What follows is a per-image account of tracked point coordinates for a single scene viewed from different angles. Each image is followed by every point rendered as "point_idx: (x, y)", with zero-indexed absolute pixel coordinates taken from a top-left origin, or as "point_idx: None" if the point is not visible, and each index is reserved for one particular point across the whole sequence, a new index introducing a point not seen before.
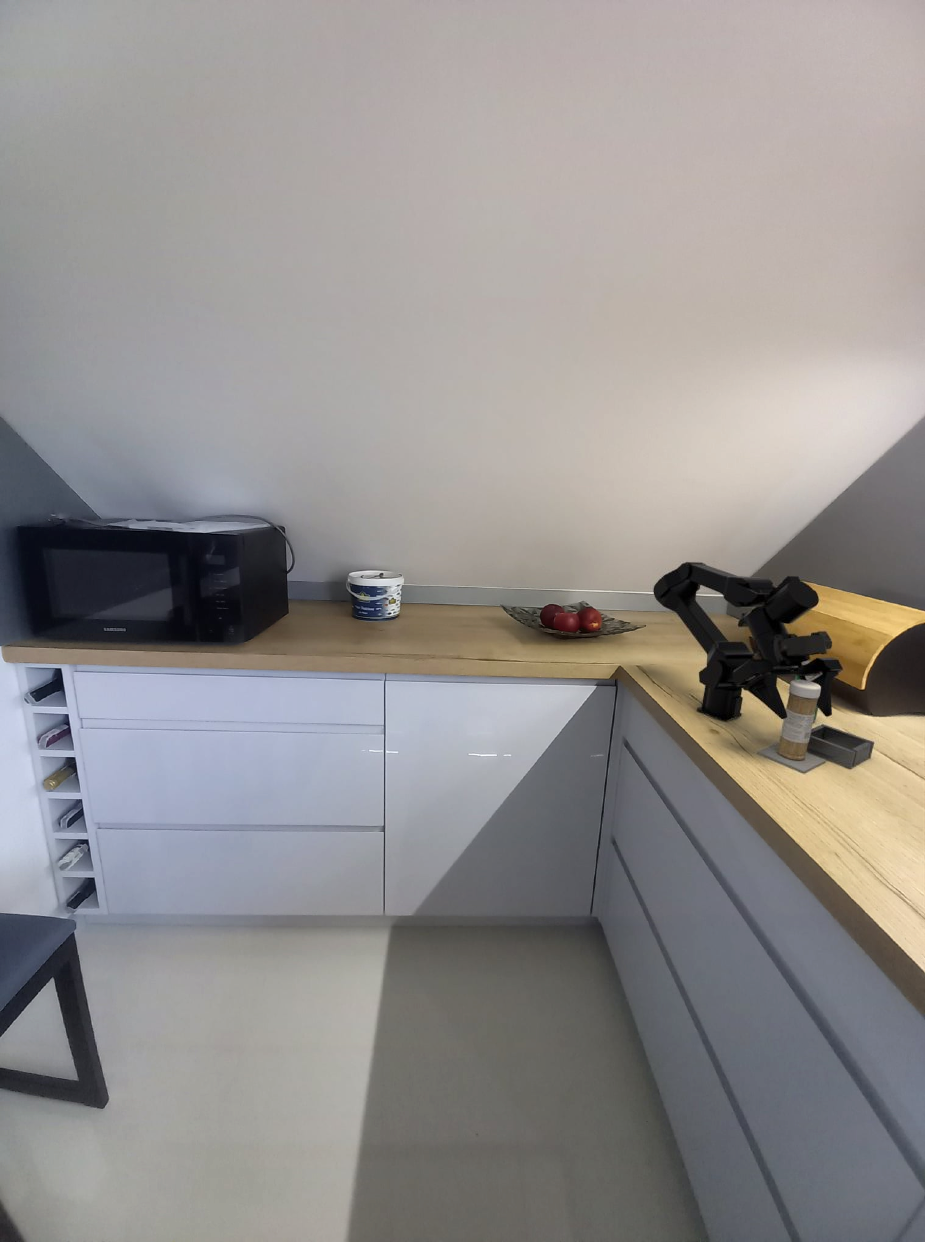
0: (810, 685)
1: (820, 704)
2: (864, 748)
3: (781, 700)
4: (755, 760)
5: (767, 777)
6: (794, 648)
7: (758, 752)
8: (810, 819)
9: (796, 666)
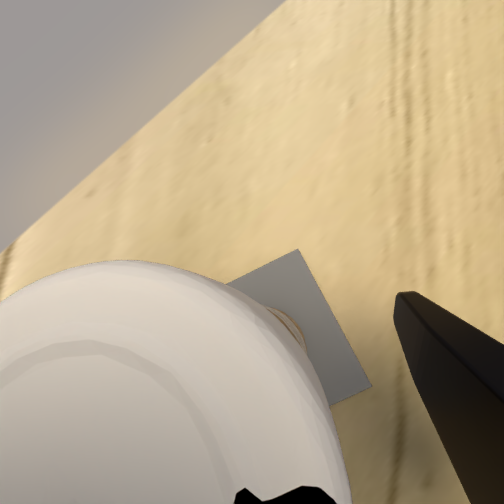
0: (78, 395)
1: None
2: None
3: (493, 376)
4: None
5: (430, 234)
6: None
7: (368, 382)
8: (436, 61)
9: None
